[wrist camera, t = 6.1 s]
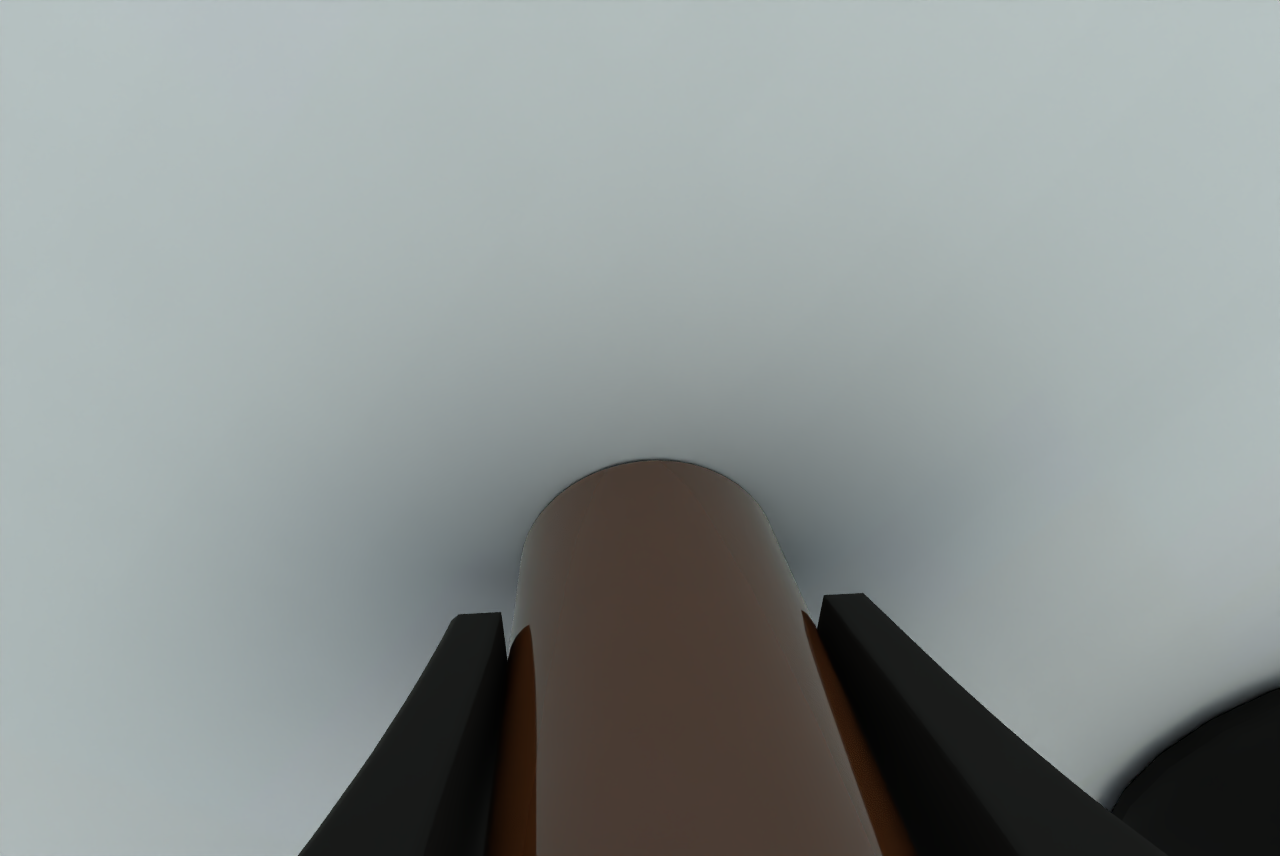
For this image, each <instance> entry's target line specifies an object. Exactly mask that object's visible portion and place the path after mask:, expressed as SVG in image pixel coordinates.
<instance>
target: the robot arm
mask: <svg viewBox="0 0 1280 856" xmlns="http://www.w3.org/2000/svg"><path fill="white" fill-rule="evenodd" d="M817 631H818V633H819V635H820V637H821V640H822V642H823V644H824V646H825V648H826V651H827V653H828V655H829V657H830V660H831V662H832V664H833V666H834V669H835V671H836V673H837V675H838V677H839V680H840V682H841V684H842V686H843V689H844V691H845V693H846V695H847V698H848V700H849V702H850V704H851V706H852V709H853V711H854V713H855V715H856V718H857V720H858V722H859V724H860V727H861V729H862V731H863V733H864V735H865V738H866V740H867V742H868V744H869V747H870V749H871V751H872V753H873V756H874V758H875V760H876V762H877V765H878V767H879V769H880V771H881V773H882V776H883V778H884V780H885V782H886V785H887V787H888V789H889V791H890V794H891V796H892V798H893V800H894V802H895V805H896V807H897V809H898V811H899V814H900V816H901V818H902V820H903V823H904V825H905V827H906V829H907V831H908V834H909V836H910V838H911V840H912V843H913V845H914V847H915V849H916V852H917V854H918V856H1168V855H1167V854H1165V853H1164V852H1163V851H1161V850H1160V849H1159V848H1157V847H1156V846H1155V845H1153V844H1152V843H1151V842H1149V841H1148V840H1147V839H1145V838H1144V837H1143V836H1141V835H1140V834H1139V833H1137V832H1136V831H1135V830H1133V829H1132V828H1131V827H1129V826H1128V825H1127V824H1125V823H1124V822H1123V821H1121V820H1120V819H1119V818H1117V817H1116V816H1115V815H1113V814H1112V813H1111V812H1109V811H1108V810H1107V809H1106V808H1104V807H1103V806H1102V805H1101V804H1099V803H1098V802H1097V801H1095V800H1094V799H1093V798H1092V797H1090V796H1089V795H1088V794H1087V793H1085V792H1084V791H1083V790H1082V789H1080V788H1079V787H1078V786H1077V785H1075V784H1074V783H1073V782H1072V781H1070V780H1069V779H1068V778H1067V777H1066V776H1064V775H1063V774H1062V773H1061V772H1060V771H1058V770H1057V769H1056V768H1055V767H1054V766H1052V765H1051V764H1050V763H1049V762H1048V761H1046V760H1045V759H1044V758H1043V757H1042V756H1040V755H1039V754H1038V753H1037V752H1036V751H1034V750H1033V749H1032V748H1031V747H1030V746H1028V745H1027V744H1026V743H1025V742H1024V741H1022V740H1021V739H1020V738H1019V737H1018V736H1017V735H1016V734H1014V733H1013V732H1012V731H1011V730H1010V729H1009V728H1007V727H1006V726H1005V725H1004V724H1003V723H1002V722H1001V721H999V720H998V719H997V718H996V717H995V716H994V715H993V714H992V713H990V712H989V711H988V710H987V709H986V708H985V707H984V706H983V705H981V704H980V703H979V702H978V701H977V700H976V699H975V698H974V697H973V696H972V695H970V694H969V693H968V692H967V691H966V690H965V689H964V688H963V687H962V686H961V685H959V684H958V683H957V682H956V681H955V680H954V679H953V678H952V677H951V676H950V675H949V674H948V673H947V672H945V671H944V670H943V669H942V668H941V667H940V666H939V665H938V664H937V663H936V662H935V661H934V660H933V659H932V658H931V657H930V656H929V655H927V654H926V653H925V652H924V651H923V650H922V649H921V648H920V647H919V646H918V645H917V644H916V643H915V642H914V641H913V640H912V639H911V638H910V637H909V636H908V635H906V634H905V633H904V632H903V631H902V630H901V629H900V628H899V627H898V626H897V625H896V624H895V623H894V622H893V621H892V620H891V619H890V618H889V617H888V616H887V615H886V614H885V613H884V612H883V611H882V610H881V609H879V608H878V607H877V606H876V605H875V604H874V603H873V602H872V601H871V600H870V599H869V598H868V597H867V596H866V595H865V594H864V593H856V594H837V595H824V597H823V602H822V607H821V612H820V617H819V622H818V627H817ZM507 662H508V661H507V653H506V646H505V638H504V630H503V622H502V615H501V612H494V613H475V614H458V615H457V616H456V617H455V618H454V619H453V620H452V621H451V623H450V625H449V627H448V629H447V630H446V632H445V634H444V636H443V638H442V640H441V642H440V643H439V645H438V647H437V649H436V651H435V652H434V654H433V656H432V658H431V659H430V661H429V663H428V665H427V666H426V668H425V670H424V671H423V673H422V675H421V676H420V678H419V680H418V681H417V683H416V685H415V686H414V688H413V690H412V691H411V693H410V695H409V696H408V698H407V700H406V701H405V703H404V704H403V706H402V707H401V709H400V710H399V712H398V714H397V715H396V717H395V718H394V720H393V721H392V723H391V724H390V726H389V727H388V729H387V730H386V732H385V734H384V735H383V737H382V738H381V740H380V741H379V743H378V744H377V746H376V747H375V749H374V751H373V752H372V754H371V755H370V756H369V758H368V759H367V761H366V762H365V764H364V765H363V767H362V768H361V770H360V771H359V772H358V774H357V775H356V777H355V778H354V779H353V781H352V782H351V784H350V785H349V786H348V788H347V789H346V791H345V792H344V793H343V795H342V796H341V798H340V799H339V800H338V802H337V803H336V805H335V806H334V807H333V809H332V810H331V812H330V813H329V814H328V816H327V817H326V819H325V820H324V821H323V823H322V824H321V825H320V827H319V828H318V830H317V831H316V832H315V834H314V835H313V836H312V838H311V839H310V840H309V842H308V843H307V844H306V846H305V847H304V848H303V849H302V851H301V852H300V853H299V855H298V856H482V854H483V846H484V839H485V831H486V823H487V816H488V808H489V800H490V793H491V785H492V777H493V769H494V762H495V754H496V746H497V739H498V731H499V723H500V716H501V708H502V700H503V692H504V685H505V677H506V669H507Z"/></svg>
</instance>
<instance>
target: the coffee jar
mask: <svg viewBox="0 0 1280 856" xmlns="http://www.w3.org/2000/svg"><path fill="white" fill-rule="evenodd" d="M1112 814H1113V815H1115V816H1116V817H1117V818H1119V819H1120V820H1121V821H1123V822H1124V823H1125V824H1127V825H1128V826H1129V827H1131V828H1132V829H1133V830H1135V831H1136V832H1137V833H1139V834H1140V835H1141V836H1143V837H1144V838H1145V839H1147V840H1148V841H1149V842H1151V843H1152V844H1153V845H1155V846H1156V847H1157V848H1159V849H1160V850H1161V851H1163V852H1164V853H1165V854H1167V855H1168V856H1280V689H1278V690H1274V691H1271V692H1269V693H1267V694H1265V695H1263V696H1261V697H1259V698H1257V699H1255V700H1252V701H1250V702H1248V703H1246V704H1244V705H1242V706H1240V707H1238V708H1236V709H1233V710H1231V711H1229V712H1227V713H1225V714H1223V715H1221V716H1219V717H1217V718H1214V719H1212V720H1210V721H1209V722H1207V723H1206V724H1204V725H1203V726H1201V727H1200V728H1198V729H1197V730H1196V731H1194V732H1193V733H1191V734H1190V735H1188V736H1187V737H1185V738H1184V739H1182V740H1181V741H1179V742H1178V743H1177V744H1175V745H1174V746H1172V747H1171V748H1169V749H1168V750H1166V751H1165V752H1163V753H1162V754H1160V755H1159V756H1158V757H1157V758H1156V759H1155V760H1154V761H1153V762H1152V763H1151V764H1150V765H1149V766H1148V767H1147V768H1146V769H1145V770H1144V771H1143V772H1142V773H1141V774H1140V775H1139V776H1138V777H1137V778H1136V779H1135V780H1134V781H1133V782H1132V783H1131V784H1130V785H1129V786H1128V787H1127V788H1126V789H1125V790H1124V791H1123V793H1122V795H1121V797H1120V799H1119V801H1118V802H1117V804H1116V806H1115V808H1114V810H1113V812H1112Z"/></svg>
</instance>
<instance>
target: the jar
mask: <svg viewBox="0 0 1280 856" xmlns="http://www.w3.org/2000/svg"><path fill="white" fill-rule="evenodd" d="M482 856H918V854H917V852H916V849H915V847H914V845H913V843H912V840H911V838H910V836H909V834H908V831H907V829H906V827H905V825H904V823H903V820H902V818H901V816H900V814H899V811H898V809H897V807H896V805H895V802H894V800H893V798H892V796H891V794H890V791H889V789H888V787H887V785H886V782H885V780H884V778H883V776H882V773H881V771H880V769H879V767H878V765H877V762H876V760H875V758H874V756H873V753H872V751H871V749H870V747H869V744H868V742H867V740H866V738H865V735H864V733H863V731H862V729H861V727H860V724H859V722H858V720H857V718H856V715H855V713H854V711H853V709H852V706H851V704H850V702H849V700H848V698H847V695H846V693H845V691H844V689H843V686H842V684H841V682H840V680H839V677H838V675H837V673H836V671H835V669H834V666H833V664H832V662H831V660H830V657H829V655H828V653H827V651H826V648H825V646H824V644H823V642H822V640H821V637H820V635H819V633H818V631H817V628H816V626H815V624H814V622H813V619H812V617H811V615H810V613H809V611H808V608H807V606H806V604H805V602H804V599H803V597H802V595H801V593H800V590H799V588H798V586H797V584H796V582H795V579H794V577H793V575H792V573H791V570H790V568H789V566H788V564H787V561H786V559H785V557H784V555H783V552H782V550H781V548H780V546H779V544H778V541H777V539H776V537H775V535H774V532H773V530H772V528H771V526H770V523H769V521H768V519H767V517H766V515H765V514H764V512H763V510H762V509H761V507H760V506H759V504H758V503H757V502H756V501H755V500H754V499H753V498H752V496H751V495H750V494H749V493H747V492H746V491H745V490H744V489H743V488H741V487H740V486H739V485H738V484H736V483H735V482H733V481H731V480H730V479H728V478H726V477H725V476H723V475H721V474H719V473H716V472H714V471H712V470H710V469H707V468H704V467H700V466H697V465H694V464H689V463H683V462H678V461H666V460H649V461H636V462H631V463H625V464H620V465H616V466H613V467H610V468H606V469H603V470H601V471H598V472H596V473H594V474H591V475H589V476H587V477H585V478H583V479H581V480H580V481H578V482H576V483H574V484H573V485H571V486H570V487H568V488H567V489H566V490H564V491H563V492H562V493H560V494H559V495H558V496H557V497H556V498H555V499H554V500H553V501H552V502H551V503H550V504H549V505H548V506H547V507H546V508H545V509H544V510H543V511H542V513H541V514H540V515H539V517H538V518H537V519H536V521H535V522H534V524H533V526H532V528H531V529H530V531H529V533H528V536H527V538H526V541H525V544H524V546H523V551H522V556H521V562H520V569H519V577H518V585H517V592H516V600H515V608H514V616H513V623H512V631H511V639H510V646H509V654H508V662H507V669H506V677H505V685H504V692H503V700H502V708H501V716H500V723H499V731H498V739H497V746H496V754H495V762H494V769H493V777H492V785H491V793H490V800H489V808H488V816H487V823H486V831H485V839H484V846H483V854H482Z"/></svg>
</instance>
